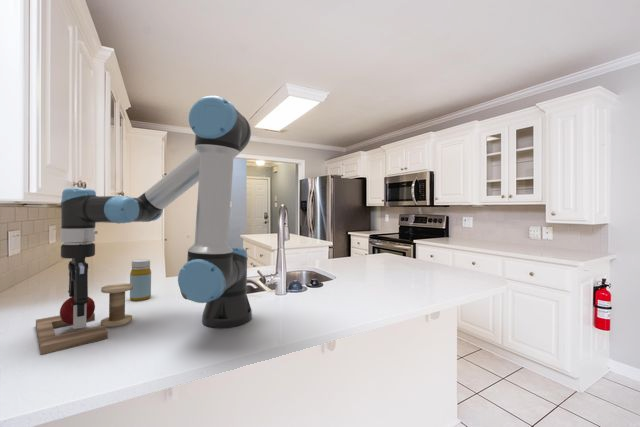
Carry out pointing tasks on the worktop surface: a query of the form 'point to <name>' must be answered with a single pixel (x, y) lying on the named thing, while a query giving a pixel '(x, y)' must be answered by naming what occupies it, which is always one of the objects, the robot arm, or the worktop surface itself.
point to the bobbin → (116, 305)
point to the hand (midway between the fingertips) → (77, 323)
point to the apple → (67, 310)
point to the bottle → (140, 280)
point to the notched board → (65, 335)
